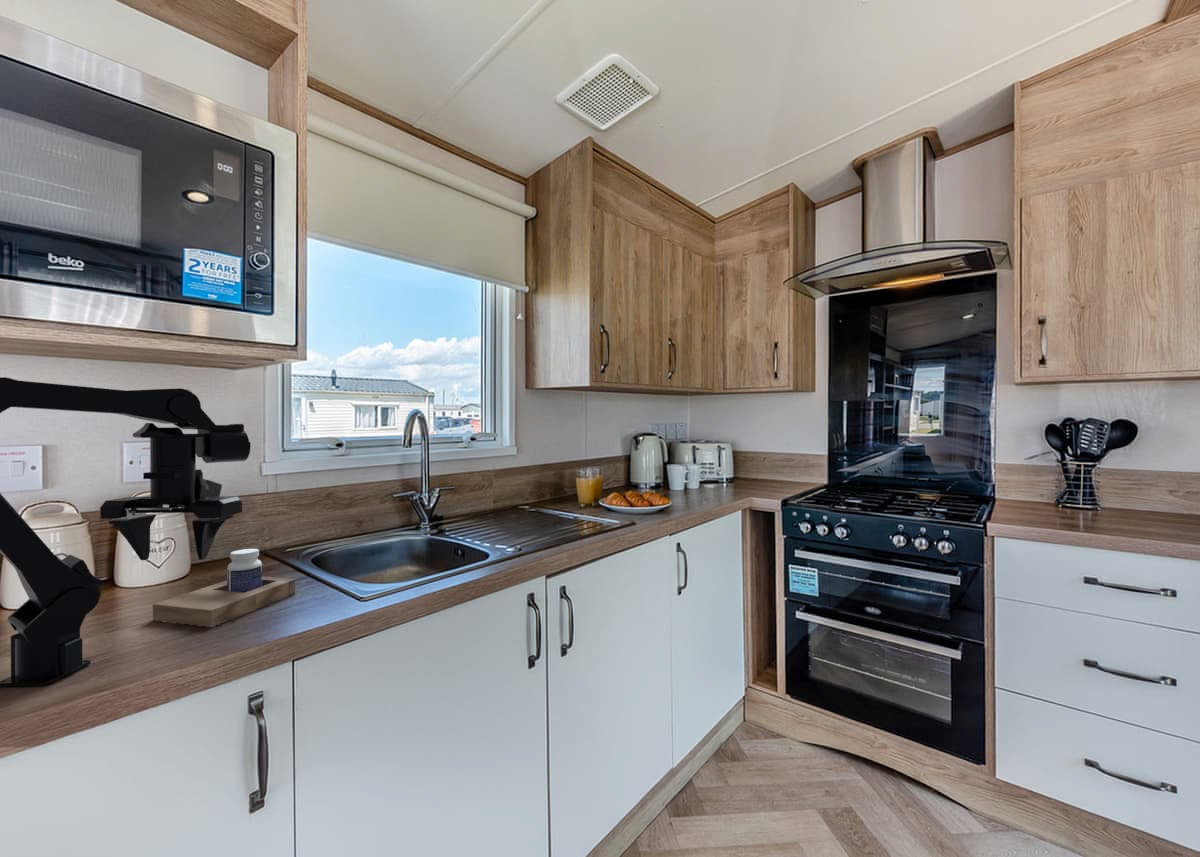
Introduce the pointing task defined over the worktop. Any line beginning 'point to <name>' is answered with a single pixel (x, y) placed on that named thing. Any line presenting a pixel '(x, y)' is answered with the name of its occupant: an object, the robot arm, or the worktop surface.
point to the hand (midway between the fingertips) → (173, 559)
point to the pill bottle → (244, 571)
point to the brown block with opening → (221, 602)
